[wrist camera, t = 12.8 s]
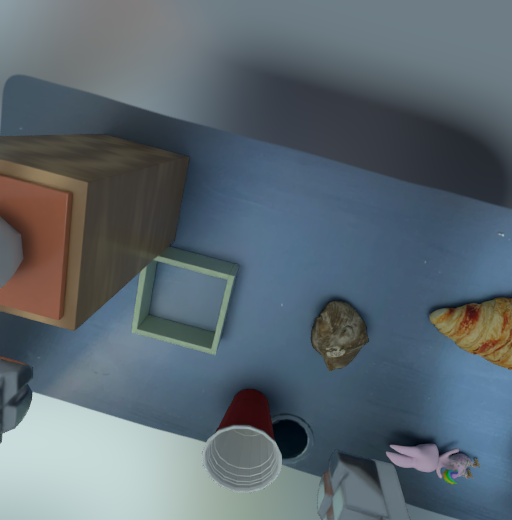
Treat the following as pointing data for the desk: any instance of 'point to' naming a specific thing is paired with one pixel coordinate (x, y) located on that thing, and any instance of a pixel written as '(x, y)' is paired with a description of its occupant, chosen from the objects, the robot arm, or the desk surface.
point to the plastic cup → (244, 446)
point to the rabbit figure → (432, 460)
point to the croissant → (480, 329)
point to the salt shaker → (9, 251)
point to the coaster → (37, 245)
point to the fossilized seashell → (338, 334)
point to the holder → (175, 330)
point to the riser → (102, 209)
